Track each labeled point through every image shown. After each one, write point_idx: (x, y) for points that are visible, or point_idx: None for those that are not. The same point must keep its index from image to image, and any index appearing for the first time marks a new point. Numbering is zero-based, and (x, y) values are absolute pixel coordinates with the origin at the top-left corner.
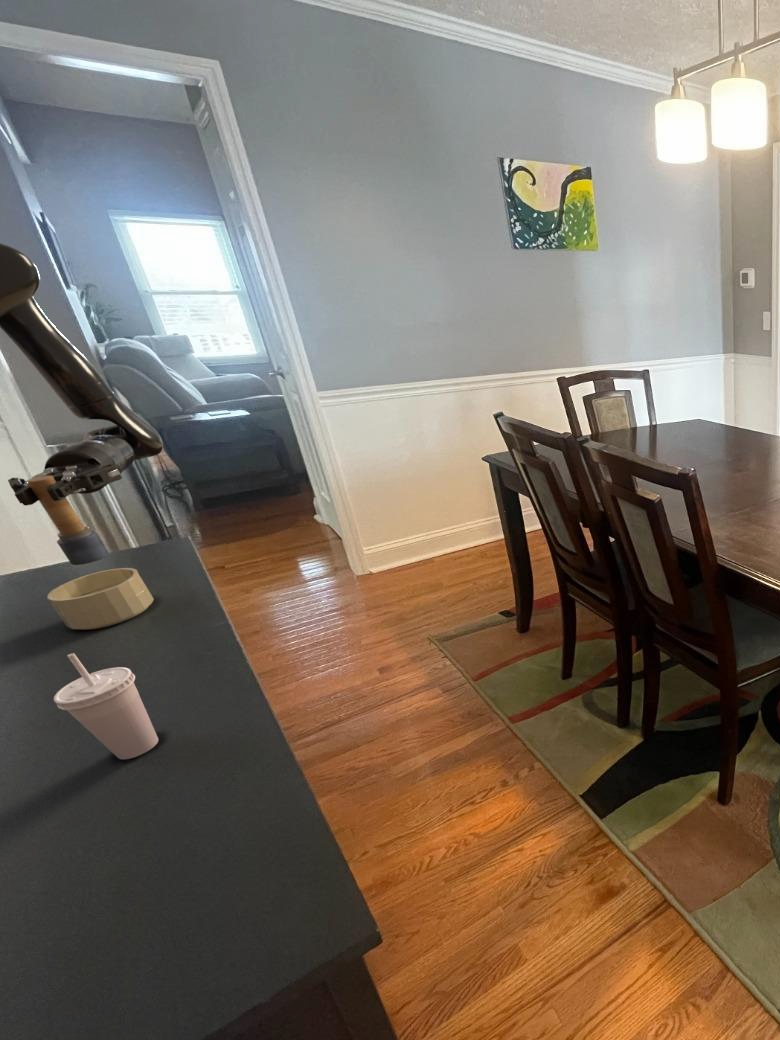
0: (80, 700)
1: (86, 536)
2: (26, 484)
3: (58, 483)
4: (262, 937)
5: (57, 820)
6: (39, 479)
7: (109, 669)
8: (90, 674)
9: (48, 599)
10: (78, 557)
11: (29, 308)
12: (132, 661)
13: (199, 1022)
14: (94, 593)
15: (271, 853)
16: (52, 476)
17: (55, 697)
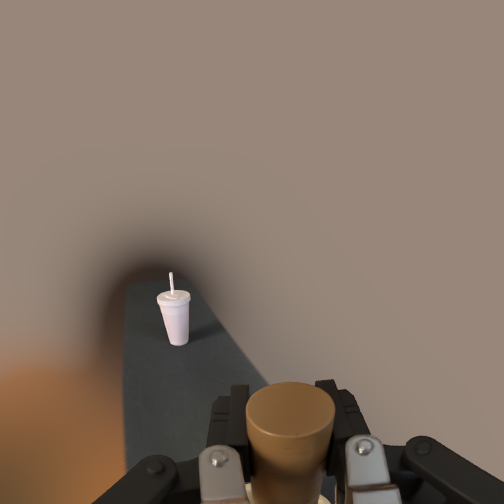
0: (177, 290)
1: None
2: (368, 439)
3: (229, 416)
4: (145, 286)
5: (204, 321)
6: (281, 393)
7: (167, 301)
8: (175, 300)
9: (324, 498)
10: None
11: None
12: (201, 424)
13: (159, 281)
14: (248, 486)
15: (138, 297)
16: (246, 414)
17: (188, 293)
